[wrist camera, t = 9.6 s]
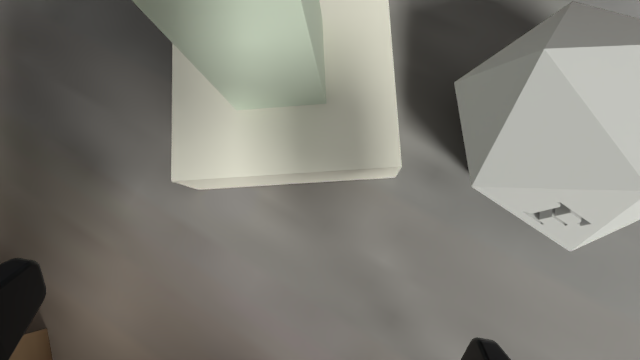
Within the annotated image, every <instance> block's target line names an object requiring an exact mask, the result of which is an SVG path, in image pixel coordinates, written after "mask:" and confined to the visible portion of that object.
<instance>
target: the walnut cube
mask: <svg viewBox="0 0 640 360" xmlns="http://www.w3.org/2000/svg"><path fill="white" fill-rule="evenodd" d="M9 360H53V359H52V354H51V348H50V343H49V337H48V332H47V328H46V329H43V330H39V331H36V332H32V333H28V334H25V335H23V337H22V338H21V340H20V342H19V343H18V345H17V347H16V348H15V350H14V352H13V354H12V355H11V357H10V359H9Z"/></svg>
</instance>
